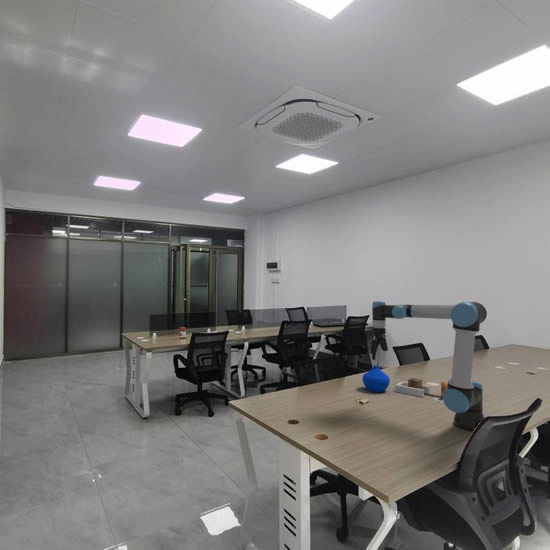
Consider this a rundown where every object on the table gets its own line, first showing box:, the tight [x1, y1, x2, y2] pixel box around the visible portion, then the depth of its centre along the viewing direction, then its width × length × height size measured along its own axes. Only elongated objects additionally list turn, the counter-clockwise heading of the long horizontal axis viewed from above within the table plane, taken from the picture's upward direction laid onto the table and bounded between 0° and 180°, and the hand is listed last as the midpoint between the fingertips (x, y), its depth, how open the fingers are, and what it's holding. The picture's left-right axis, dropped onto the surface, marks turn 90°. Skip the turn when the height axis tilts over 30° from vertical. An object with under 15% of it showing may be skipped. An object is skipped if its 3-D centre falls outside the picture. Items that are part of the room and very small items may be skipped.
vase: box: [362, 361, 391, 393], centre depth 248 cm, size 18×18×19 cm
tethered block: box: [407, 377, 448, 400], centre depth 237 cm, size 25×7×10 cm, turn 49°
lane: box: [394, 381, 431, 398], centre depth 244 cm, size 19×13×4 cm
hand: (379, 363), depth 210 cm, fingers open, 13 cm apart
